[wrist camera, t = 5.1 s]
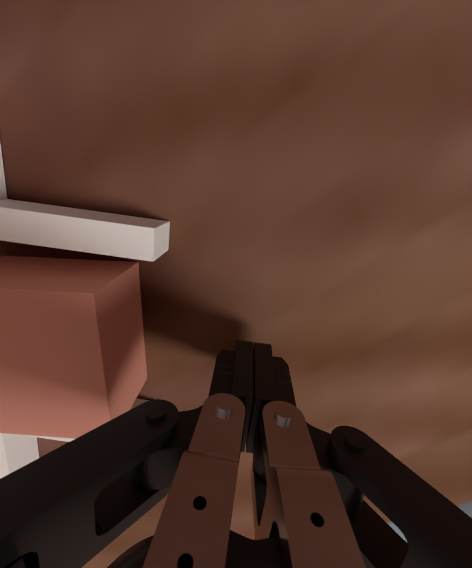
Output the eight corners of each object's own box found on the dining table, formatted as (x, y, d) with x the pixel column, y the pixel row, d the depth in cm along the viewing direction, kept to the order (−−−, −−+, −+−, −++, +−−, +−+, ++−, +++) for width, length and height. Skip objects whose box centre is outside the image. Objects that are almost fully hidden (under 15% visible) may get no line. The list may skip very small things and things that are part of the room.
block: (139, 261, 13) (93, 293, 9) (148, 375, 15) (112, 441, 11) (8, 254, 13) (-91, 283, 9) (33, 368, 15) (-40, 430, 11)
